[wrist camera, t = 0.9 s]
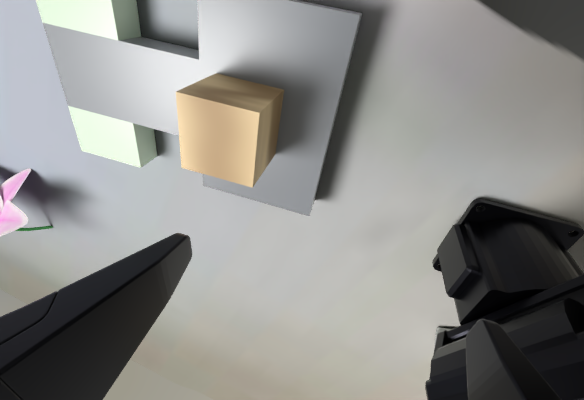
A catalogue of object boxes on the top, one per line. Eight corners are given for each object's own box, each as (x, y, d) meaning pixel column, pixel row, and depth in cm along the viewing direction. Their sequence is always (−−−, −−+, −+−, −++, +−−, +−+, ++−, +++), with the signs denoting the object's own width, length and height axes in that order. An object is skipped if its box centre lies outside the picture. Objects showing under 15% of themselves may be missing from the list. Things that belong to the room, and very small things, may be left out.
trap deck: (362, 13, 15) (359, 15, 13) (314, 200, 22) (309, 216, 20) (53, -50, 17) (19, -55, 15) (101, 140, 24) (81, 150, 22)
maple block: (284, 89, 16) (259, 112, 13) (275, 154, 18) (252, 187, 15) (215, 73, 16) (175, 91, 13) (215, 138, 19) (181, 167, 16)
